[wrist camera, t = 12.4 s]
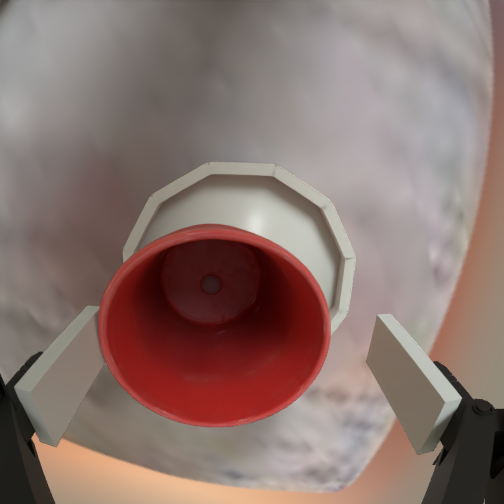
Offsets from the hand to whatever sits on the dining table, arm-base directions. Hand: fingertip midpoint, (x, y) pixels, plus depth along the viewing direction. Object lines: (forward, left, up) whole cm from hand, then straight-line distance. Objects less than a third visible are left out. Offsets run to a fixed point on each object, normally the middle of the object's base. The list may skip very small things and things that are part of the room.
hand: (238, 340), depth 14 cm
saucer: (0, 0, -10) cm, 10 cm away
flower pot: (0, -2, -9) cm, 10 cm away
